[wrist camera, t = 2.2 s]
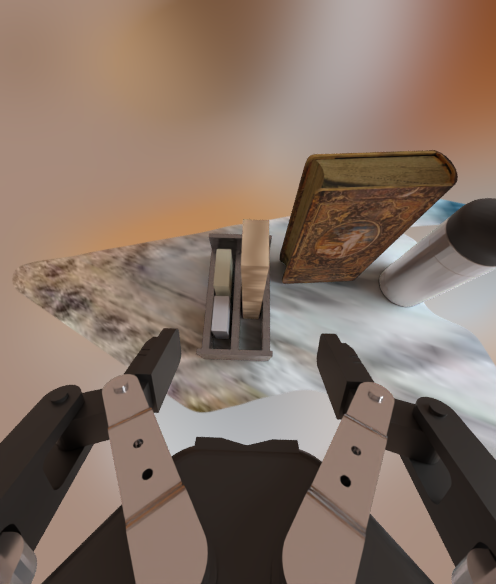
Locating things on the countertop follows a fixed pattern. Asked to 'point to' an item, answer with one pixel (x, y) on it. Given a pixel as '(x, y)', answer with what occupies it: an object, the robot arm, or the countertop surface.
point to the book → (358, 210)
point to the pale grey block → (221, 317)
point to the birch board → (254, 265)
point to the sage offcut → (223, 273)
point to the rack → (234, 307)
